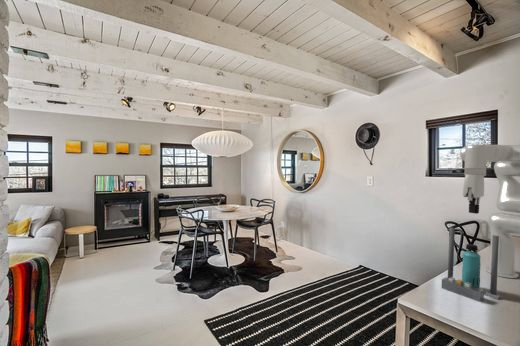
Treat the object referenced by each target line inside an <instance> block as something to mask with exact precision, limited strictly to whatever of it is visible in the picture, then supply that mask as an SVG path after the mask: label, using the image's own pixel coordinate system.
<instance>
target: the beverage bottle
mask: <svg viewBox="0 0 520 346" xmlns="http://www.w3.org/2000/svg"><path fill="white" fill-rule="evenodd" d="M465 249H466V250H467V251H464V252H463V253H462V268H461V273H462V274H461V280H462V281H463V283H466V282H469V283H471V286H474V287H477V288H480V286H481V265H482V264H481V254H479V253H478V245H475V244H471V243H467V244H466V245H465Z"/></svg>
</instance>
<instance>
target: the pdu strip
mask: <svg viewBox="0 0 520 346" xmlns="http://www.w3.org/2000/svg"><path fill="white" fill-rule="evenodd" d="M455 280H456V281H455ZM441 289H442V290H446V291H448V292H452V293H454V294H457V295H460V296H463V297H466V298H468V299H471V300H473V301H476V302H480V301H481V302H482V301H484V300H485V289H482V288H480V287H479V288H477V287H474V286H471V283H469V282H466V283H463V281H462V279H460V278H459V279H456V278H455V277H454V276H453V277H450V278H447V277H443V278H441ZM481 302H480V303H481Z"/></svg>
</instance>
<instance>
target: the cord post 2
mask: <svg viewBox="0 0 520 346" xmlns="http://www.w3.org/2000/svg"><path fill="white" fill-rule="evenodd" d="M498 246H499V236H496V235H493V236H492V261H491V273H490V285H489V286H490V289H489V291H487V292H485V293H484V296H486V297H488V296H489V297H488V298H490V299H491V298H492V299H494V300H499V299H501V298H502V294H500V293H497V290H498V289H497V288H498V276H497V270H498Z"/></svg>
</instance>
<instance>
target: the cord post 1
mask: <svg viewBox="0 0 520 346" xmlns="http://www.w3.org/2000/svg"><path fill="white" fill-rule="evenodd" d="M455 230H456V227H449V237H448V255H447V257H448V261H447V263H448V264H447V276H446V278H450V277H453V278H454V257H455V256H454V255H455V234H456V233H455V232H456V231H455ZM456 280H457V279H455V281H456Z"/></svg>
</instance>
